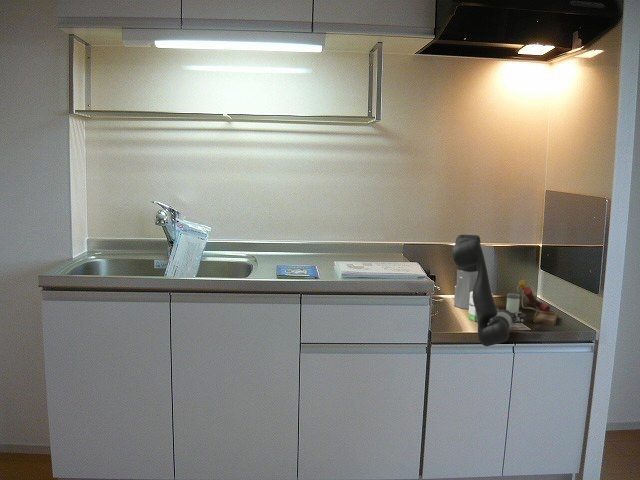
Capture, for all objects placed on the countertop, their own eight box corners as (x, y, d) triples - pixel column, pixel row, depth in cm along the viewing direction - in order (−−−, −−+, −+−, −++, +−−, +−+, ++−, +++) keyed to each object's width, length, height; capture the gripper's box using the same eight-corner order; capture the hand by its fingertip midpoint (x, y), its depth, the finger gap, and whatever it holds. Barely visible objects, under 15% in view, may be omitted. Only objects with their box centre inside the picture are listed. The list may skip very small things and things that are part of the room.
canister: (504, 320, 227) (506, 295, 225) (506, 317, 231) (508, 292, 229) (517, 322, 224) (519, 297, 223) (519, 319, 229) (520, 294, 227)
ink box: (474, 321, 224) (476, 294, 223) (467, 318, 229) (469, 291, 227) (492, 320, 227) (493, 293, 225) (485, 316, 232) (486, 290, 230)
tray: (532, 322, 225) (533, 317, 225) (536, 314, 236) (536, 310, 236) (554, 325, 221) (555, 320, 221) (557, 317, 232) (557, 313, 232)
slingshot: (546, 304, 253) (557, 303, 238) (531, 320, 252) (541, 319, 237) (519, 279, 255) (528, 276, 241) (504, 295, 255) (512, 293, 240)
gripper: (522, 314, 200) (528, 304, 214) (483, 309, 206) (491, 299, 220) (520, 334, 201) (526, 322, 215) (481, 328, 207) (490, 317, 222)
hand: (508, 311), depth 218 cm, fingers open, 8 cm apart
